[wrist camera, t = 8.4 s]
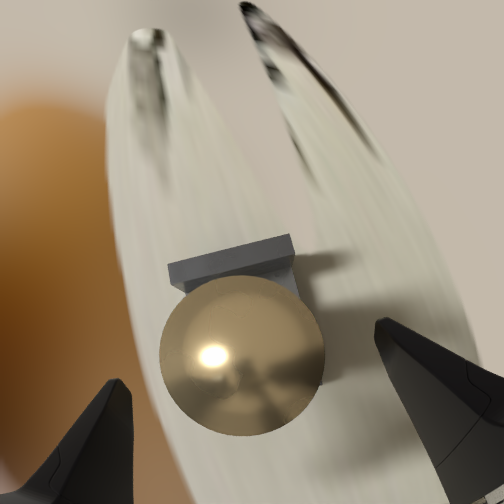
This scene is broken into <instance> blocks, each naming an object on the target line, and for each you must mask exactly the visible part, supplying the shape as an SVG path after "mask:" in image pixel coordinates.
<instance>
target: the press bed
mask: <svg viewBox="0 0 504 504" xmlns="http://www.w3.org/2000/svg"><path fill="white" fill-rule="evenodd" d="M294 256H295V251H294V248H293V244H292V241H291V238H290V234H285V235H281V236H277V237H273V238H269V239H265V240H261V241H257V242H253V243H249V244H245V245H241V246H237V247H233V248H229V249H225V250H221V251H217V252H213V253H209V254H205V255H201V256H197V257H193V258H189V259H185V260H181V261H178V262H174V263H170V264H168V270H169V276H170V282H171V285H172V286H174V287H176V288H178V289H179V290H181V291H183V292H185V294H186V296H187V295H188V294H189V293H191V292H192V291H193V290H195V289H196V288H198V287H200V286H201V285H203V284H205V283H208V282H210V281H212V280H216V279H219V278H223V277H228V276H240V275H244V276H255V277H259V278H264V279H267V280H270V281H273V282H275V283H277V284H279V285H281V286H283V287H285V288H286V289H288V290H289V291H291V292H292V293H294V294H295V295H296V296H297V297H298V298H299V299H300V296H299V293H298V289H297V285H296V282H295V278H294V275H293V271H292V268H291V266H292V263H293V260H294ZM320 385H322V381H321V382H320ZM320 385H319V386H320Z"/></svg>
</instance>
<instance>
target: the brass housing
mask: <svg viewBox="0 0 504 504" xmlns="http://www.w3.org/2000/svg"><path fill="white" fill-rule="evenodd" d="M159 356H160V367H161V373H162V376H163V380H164V383H165V385H166V387H167V390H168V392H169V393H170V395H171V397H172V398H173V400H174V401H175V403H176V404H177V405H178V406H179V408H180V409H181V410H182V411H183V412H184V413H185V414H186V415H187V416H189V417H190V418H191V419H193V420H194V421H195V422H197V423H198V424H200V425H202V426H204V427H206V428H208V429H210V430H213V431H215V432H218V433H222V434H226V435H233V436H253V435H260V434H264V433H267V432H271V431H273V430H276V429H278V428H280V427H282V426H284V425H285V424H287V423H289V422H290V421H292V420H293V419H294V418H296V417H297V416H298V415H299V414H300V413H301V412H302V411H303V410H304V409H305V408H306V407H307V406H308V404H309V403H310V402H311V400H312V399H313V397H314V395H315V393H316V392H317V390H318V387H319V385H320V382H321V379H322V375H323V371H324V363H325V350H324V343H323V338H322V334H321V331H320V328H319V326H318V324H317V322H316V320H315V318H314V316H313V314H312V313H311V311H310V310H309V309H308V307H307V306H306V305H305V304H304V303H303V302H302V300H301V299H299V298H298V297H297V296H296V295H295V294H294V293H292V292H291V291H289V290H288V289H286V288H285V287H283V286H281V285H279V284H277V283H275V282H273V281H270V280H267V279H264V278H259V277H255V276H244V275H240V276H228V277H223V278H219V279H216V280H212V281H210V282H208V283H205V284H203V285H201V286H200V287H198V288H196V289H195V290H193V291H192V292H191V293H189V294H188V295H187V296H186V297H184V298H183V300H182V301H181V302H180V303H179V304H178V305H177V306H176V308H175V309H174V310H173V312H172V313H171V315H170V317H169V319H168V320H167V322H166V325H165V327H164V330H163V333H162V337H161V342H160V351H159Z"/></svg>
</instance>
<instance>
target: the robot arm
mask: <svg viewBox="0 0 504 504" xmlns="http://www.w3.org/2000/svg"><path fill="white" fill-rule="evenodd" d="M374 340H375V344H376V346H377V348H378V351H379V353H380V356H381V358H382V361H383V363H384V366H385V368H386V371H387V373H388V376H389V378H390V380H391V382H392V384H393V386H394V388H395V390H396V392H397V393H398V395H399V397H400V399H401V401H402V403H403V405H404V407H405V409H406V411H407V413H408V415H409V416H410V418H411V420H412V422H413V424H414V426H415V428H416V430H417V432H418V434H419V436H420V438H421V440H422V443H423V445H424V447H425V449H426V451H427V453H428V455H429V457H430V459H431V461H432V464H433V466H434V468H435V470H436V473H437V475H438V477H439V479H440V481H441V484H442V486H443V488H444V490H445V493H446V495H447V497H448V500H449V502H450V504H471V503H473V502H475V501H477V500H479V499H480V498H482V497H484V498H485V500H486V501H485V502H484V503H483V504H504V378H503V377H501V376H498V375H496V374H494V373H492V372H489V371H487V370H485V369H483V368H481V367H479V366H477V365H475V364H473V363H472V362H470V361H468V360H465V359H464V358H462V357H460V356H459V355H457V354H455V353H453V352H451V351H450V350H448V349H446V348H444V347H442V346H440V345H439V344H437V343H435V342H433V341H431V340H429V339H427V338H426V337H424V336H422V335H420V334H418V333H416V332H415V331H413V330H411V329H409V328H407V327H405V326H404V325H402V324H400V323H398V322H396V321H394V320H392V319H391V318H389V317H384V318H381V319H378V320H377V321H376V323H375V333H374ZM133 441H134V426H133V408H132V395H131V392H130V391H129V389H128V388H127V387H126V386H125V384H124V383H123V382H122V381H121V380H120V379H119V378H116V379H110V380H108V381H107V382H106V384H105V385H104V386H103V387H102V389H101V390H100V391H99V392H98V394H97V395H96V396H95V397H94V399H93V400H92V401H91V402H90V404H89V405H88V406H87V408H86V409H85V410H84V412H83V413H82V414H81V415H80V417H79V418H78V419H77V420H76V422H75V423H74V424H73V426H72V427H71V428H70V429H69V431H68V432H67V433H66V435H65V436H64V437H63V439H62V440H61V441H60V443H59V444H58V446H57V447H56V448H55V449H54V450H53V452H52V453H51V454H50V455H49V457H48V458H47V459H46V461H45V462H44V463H43V464H42V465H41V466H40V468H39V469H38V470H37V471H36V472H35V473H34V474H33V475H32V476H31V477H30V479H29V480H28V481H27V482H26V483H25V484H24V485H23V486H22V487H21V488H20V489H18V490H16V491H14V492H10V493H6V494H0V504H134V502H133V445H134V443H133Z"/></svg>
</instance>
